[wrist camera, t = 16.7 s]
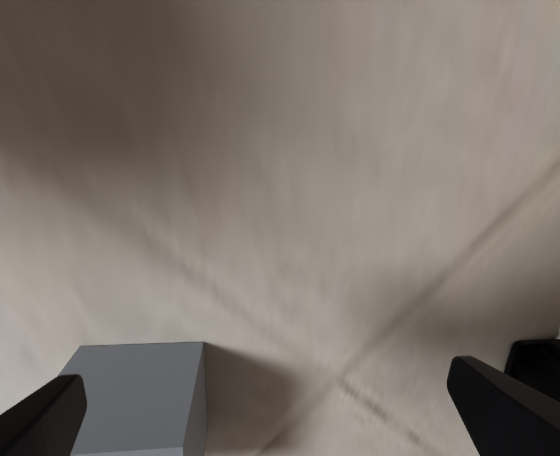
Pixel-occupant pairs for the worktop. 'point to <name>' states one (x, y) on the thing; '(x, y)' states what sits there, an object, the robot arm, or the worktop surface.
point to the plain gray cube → (142, 399)
